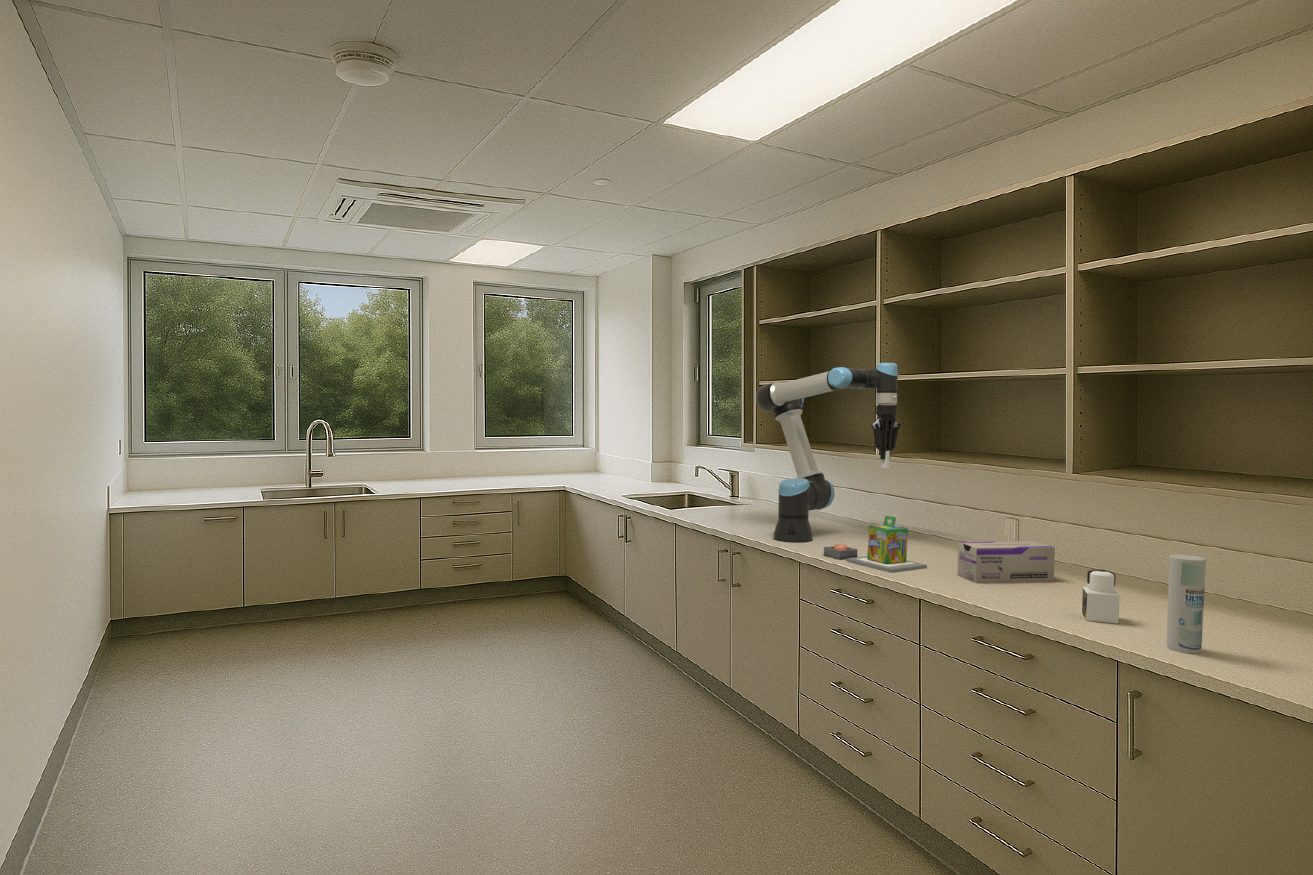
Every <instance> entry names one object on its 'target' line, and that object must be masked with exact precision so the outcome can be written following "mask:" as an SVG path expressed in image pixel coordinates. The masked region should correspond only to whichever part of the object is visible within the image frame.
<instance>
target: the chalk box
mask: <svg viewBox="0 0 1313 875" xmlns="http://www.w3.org/2000/svg"><path fill="white" fill-rule="evenodd" d="M896 518H897V517H896V516H891V515H885V516H884V521H883V523H882V524H869V525H868V541H867V555H866V556H867V559H869V560H873V561H876V562H880V563H883V564H892V563H904V562H906V560H907V557H908V555H907V554H908V534H909V533H908V531H909V529H908V527H905V526H900V525H895V524H896V522H897V519H896ZM889 520H890V521H891V523H889V522H888V521H889Z"/></svg>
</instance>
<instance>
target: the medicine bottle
mask: <svg viewBox="0 0 1313 875" xmlns="http://www.w3.org/2000/svg"><path fill="white" fill-rule="evenodd" d="M1086 575H1087V576H1086V577H1087V581H1086V585H1085V586H1082V602H1081V604H1082V605H1081V606H1082V607H1081V614H1082V616H1083V618H1084V620H1085V621H1087V622H1095V623H1107V624H1115V625H1117V624H1119V620H1120V600H1121V599H1120V598H1121V597H1120V594H1119V593H1118V592H1117V590H1116V578H1117V576H1116V574H1115V573H1114V572H1113V571H1111V570H1106V569H1097V568H1095V569H1091V570H1089V571H1087V574H1086Z"/></svg>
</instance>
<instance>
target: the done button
mask: <svg viewBox="0 0 1313 875" xmlns="http://www.w3.org/2000/svg"><path fill="white" fill-rule="evenodd" d="M833 546H834V549H837V550H847V547H848V545H847V544H844V543H843V544H842V543H836V544H834V545H833Z"/></svg>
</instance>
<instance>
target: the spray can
mask: <svg viewBox="0 0 1313 875" xmlns="http://www.w3.org/2000/svg"><path fill="white" fill-rule="evenodd" d="M1168 558H1169V559H1168V593H1167V594H1168V595H1167V597H1168V598H1167V626H1166V647H1167V648H1168V649H1169V650H1172V651H1175V652H1180V653H1185V654H1199V653H1201V652H1202V648H1203V647H1202V646H1203V627H1204V606H1205V605H1204V604H1205V586H1206V584H1205V583H1206V565H1207V562H1206V561H1207V560H1206V558H1204V557H1202V556H1196V555H1190V554H1189V555H1188V554H1171V555H1169V557H1168Z"/></svg>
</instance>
